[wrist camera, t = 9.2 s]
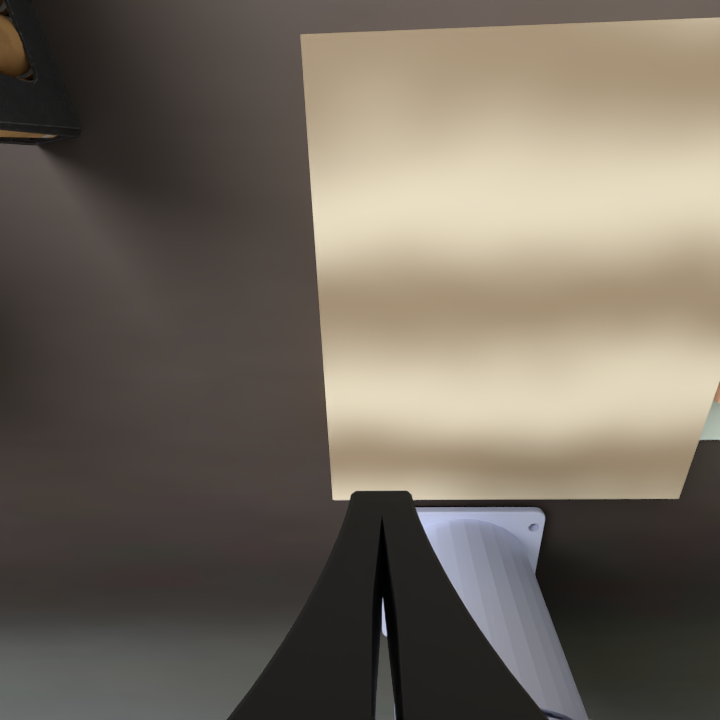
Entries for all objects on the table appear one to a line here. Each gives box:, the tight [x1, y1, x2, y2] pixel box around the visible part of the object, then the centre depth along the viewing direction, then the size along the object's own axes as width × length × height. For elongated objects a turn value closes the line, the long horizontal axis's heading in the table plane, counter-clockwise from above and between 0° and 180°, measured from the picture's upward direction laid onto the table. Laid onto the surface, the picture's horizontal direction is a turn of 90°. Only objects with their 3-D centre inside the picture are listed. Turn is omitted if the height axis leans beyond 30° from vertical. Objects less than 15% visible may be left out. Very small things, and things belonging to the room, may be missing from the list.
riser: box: [300, 18, 720, 500], centre depth 17 cm, size 16×14×3 cm
